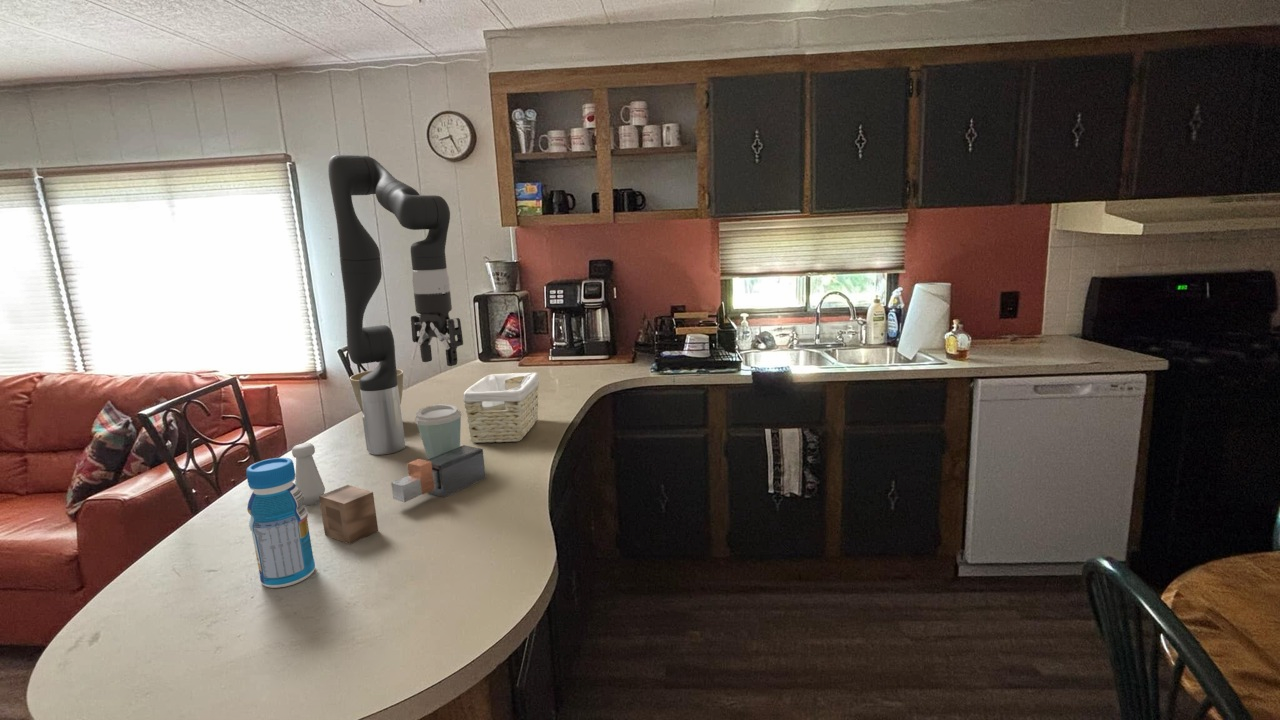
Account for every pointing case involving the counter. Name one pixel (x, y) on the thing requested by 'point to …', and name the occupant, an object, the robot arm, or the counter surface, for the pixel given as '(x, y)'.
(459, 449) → the sleeve
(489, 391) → the storage basket
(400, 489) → the grey square bar
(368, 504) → the cardboard box
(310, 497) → the salt shaker
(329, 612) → the counter surface
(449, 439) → the disposable coffee cup
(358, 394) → the plant pot
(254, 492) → the beverage bottle
